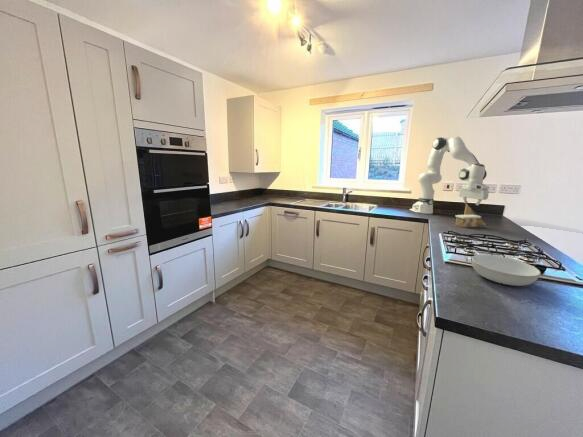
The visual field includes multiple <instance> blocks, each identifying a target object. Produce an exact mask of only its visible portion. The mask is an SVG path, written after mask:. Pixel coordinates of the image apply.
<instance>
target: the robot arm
mask: <svg viewBox="0 0 583 437" xmlns="http://www.w3.org/2000/svg"><path fill="white" fill-rule="evenodd" d="M430 151H431V152H430V154H429V157H428V161H427V164H426V165H427V170H428V172H423V173H419V175H418V178H417V179H418V182H419V183H420V189H421V191H420V197H419V198H418V201H416V202H415V203H413V204H412V205H411V206H412V208H409V211H412V212H415V213H416V214H419V213H420V214H428V215H429V214H430V215H433V213H434V210H433V208H434V207H433V206H434V198H435V190H434V186H433V185H436V184H438V183H440V182H441V180H442V179H443V178H442V175H441V166H442V162H443V159H444V154H445V153H446V152H448V153H450V155H451V157H452V158H453V159H454V160H458V161H462V162H465V163H467V165H469V167H465V168H462V169H461V170H460V171H459V173H458V178H459V180H460V181H467V184H463V185H462V186H461V187H460V190H459V194H458V196H459V197H461V198H463V204H468V198H469V199H476V200H477V202H475V204H474V205H475V206H479V205H480V203H481V202H482V200H484V201H486V200H488V199H489V193H490V191H489V189H490V186H488V185H486V184H485V183H483V182H484V180H485V179H486V177H487V175H488V173H487V170H486V167H485V164H483V163H480V162H479V160H478V159H477V157H476V156H475V155H474V154H473V153H472V152H471V151H470V150H469V149H468V148H467V146H466V144H465V142H464V141H463V139H462V138H461V137H460V136H453V137H437V138H435V139H434V140H433V142H432V149H431V150H430Z"/></svg>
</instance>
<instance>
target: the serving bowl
mask: <svg viewBox="0 0 583 437" xmlns="http://www.w3.org/2000/svg"><path fill="white" fill-rule="evenodd" d="M471 266H472V268H473V269H474V270H475V272H476V273H477V274H479V275H480V276H481V277H484V278H485V279H487V280H490V281H491V282H494V283H497V284H501V283H502V285H508V286H514V287H515V286H517V287H521V286H528V285H532V284H533V283H534V282H536V281H538V280H539V278H540V276H541V274H542V273H541V270H540V269H538V268H537V267H535V266H533V265H531V264H529V263H526V262H524V261H521V260H518V259H514V258H511V257H510V258H509V257H505V256H501V255H500V256H499V255H493V254H475V255H473V256H472V257H471Z"/></svg>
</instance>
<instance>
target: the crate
mask: <svg viewBox="0 0 583 437" xmlns="http://www.w3.org/2000/svg"><path fill="white" fill-rule="evenodd" d="M479 219H481V218H465V219H463V218H459V217H456V218H455V224H454V226H455V227H459V228H474V227H479V225H478V224H479Z"/></svg>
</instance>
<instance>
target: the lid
mask: <svg viewBox="0 0 583 437" xmlns="http://www.w3.org/2000/svg"><path fill="white" fill-rule="evenodd" d="M455 217H459V218H463V219H465V218H480V219H482V216H481V215H478V214H476V215H464V214H457V215H456V214H455Z"/></svg>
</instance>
